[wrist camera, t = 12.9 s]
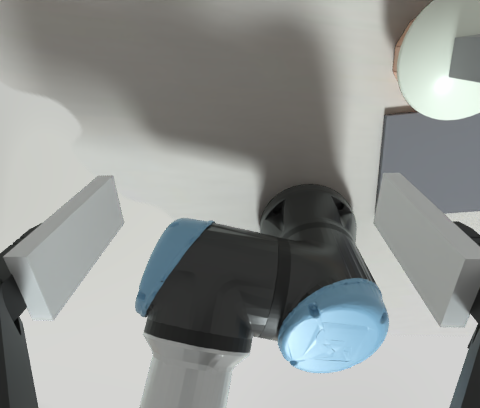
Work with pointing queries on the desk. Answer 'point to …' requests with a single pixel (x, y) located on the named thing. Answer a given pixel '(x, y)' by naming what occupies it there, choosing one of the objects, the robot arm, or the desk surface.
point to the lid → (442, 60)
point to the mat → (435, 158)
